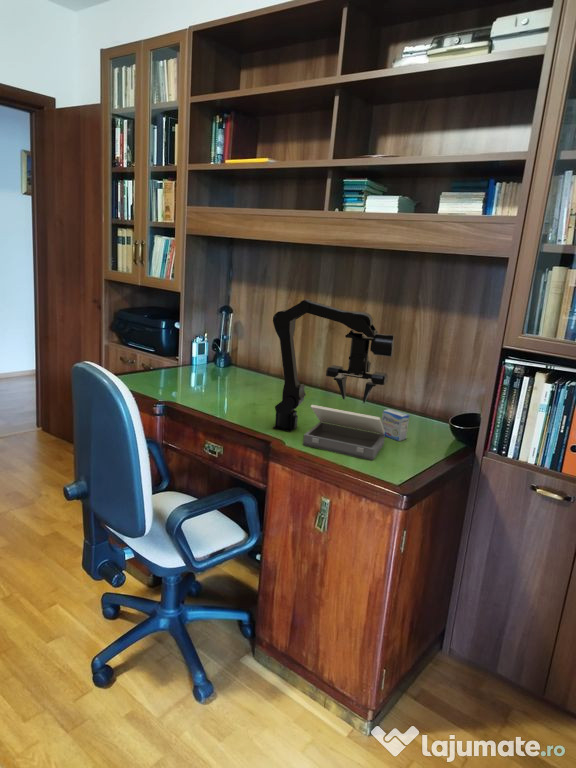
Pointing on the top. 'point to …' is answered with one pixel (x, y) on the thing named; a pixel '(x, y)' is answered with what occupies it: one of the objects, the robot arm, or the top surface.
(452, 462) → the top surface
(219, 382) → the top surface
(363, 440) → the cable tray
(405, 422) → the medicine box
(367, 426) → the tray lid
